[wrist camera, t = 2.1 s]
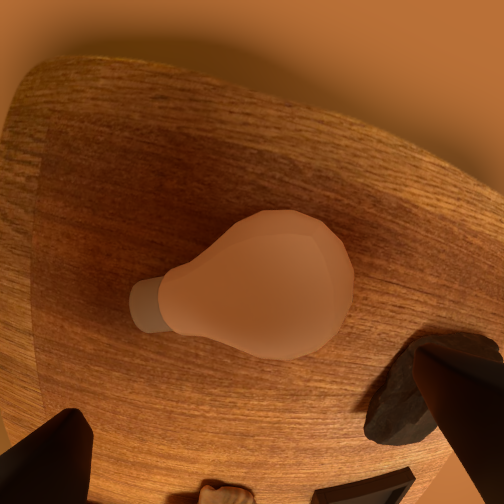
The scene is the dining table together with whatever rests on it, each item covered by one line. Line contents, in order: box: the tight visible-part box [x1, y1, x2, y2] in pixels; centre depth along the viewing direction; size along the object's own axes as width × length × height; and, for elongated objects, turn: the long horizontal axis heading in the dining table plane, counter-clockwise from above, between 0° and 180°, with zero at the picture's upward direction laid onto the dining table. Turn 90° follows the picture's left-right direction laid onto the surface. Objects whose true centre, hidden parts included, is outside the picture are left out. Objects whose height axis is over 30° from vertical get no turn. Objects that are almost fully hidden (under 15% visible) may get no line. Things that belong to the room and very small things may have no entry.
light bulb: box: [129, 210, 354, 360], centre depth 14 cm, size 7×7×11 cm
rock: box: [364, 332, 503, 446], centre depth 19 cm, size 10×6×10 cm
